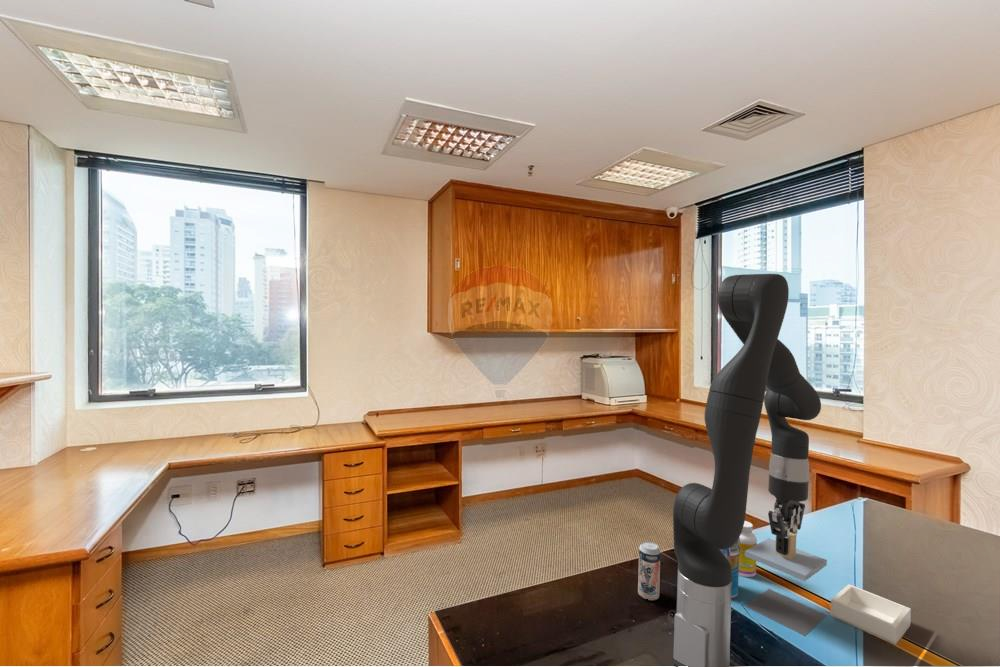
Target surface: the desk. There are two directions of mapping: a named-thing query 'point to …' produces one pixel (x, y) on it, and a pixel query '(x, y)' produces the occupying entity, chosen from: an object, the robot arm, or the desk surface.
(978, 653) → the desk surface
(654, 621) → the desk surface
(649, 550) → the beer can
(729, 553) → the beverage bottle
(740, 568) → the supplement bottle
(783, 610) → the mat
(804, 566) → the lid
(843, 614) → the white rectangular open box
